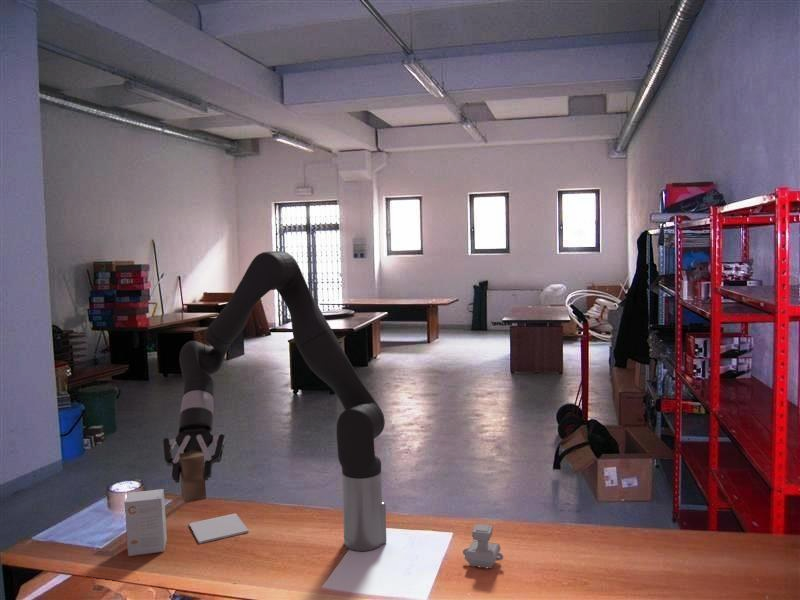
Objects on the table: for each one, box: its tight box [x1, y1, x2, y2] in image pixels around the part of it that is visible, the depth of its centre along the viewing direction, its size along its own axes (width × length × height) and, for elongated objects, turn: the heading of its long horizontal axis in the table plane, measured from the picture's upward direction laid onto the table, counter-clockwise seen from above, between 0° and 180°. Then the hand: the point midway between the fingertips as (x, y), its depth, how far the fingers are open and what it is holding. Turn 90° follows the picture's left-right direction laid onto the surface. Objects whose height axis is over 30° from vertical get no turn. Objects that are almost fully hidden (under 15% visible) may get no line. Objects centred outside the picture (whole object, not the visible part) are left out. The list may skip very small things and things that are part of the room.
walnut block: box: [179, 451, 207, 504], centre depth 148 cm, size 4×4×10 cm
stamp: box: [462, 523, 504, 569], centre depth 144 cm, size 9×7×8 cm
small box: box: [124, 488, 168, 557], centre depth 155 cm, size 8×6×13 cm
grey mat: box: [188, 512, 249, 545], centre depth 165 cm, size 12×12×1 cm
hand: (191, 479), depth 147 cm, fingers closed on walnut block, 5 cm apart
